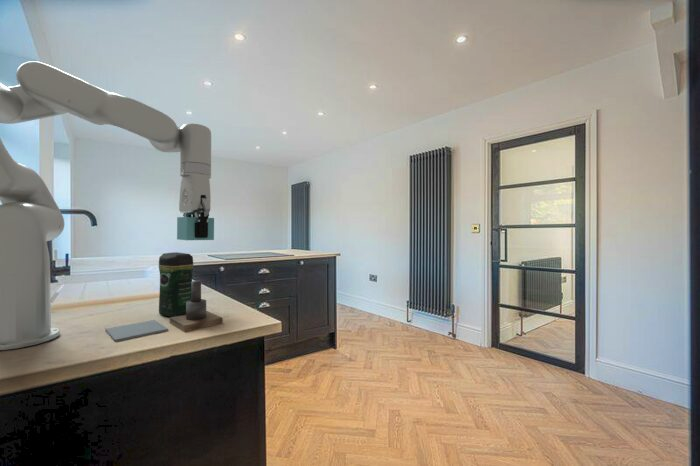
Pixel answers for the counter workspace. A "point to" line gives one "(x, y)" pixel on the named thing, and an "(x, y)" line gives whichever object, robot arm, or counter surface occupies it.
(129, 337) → the mat
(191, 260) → the coffee jar
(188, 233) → the teal boxy piece
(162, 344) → the counter surface
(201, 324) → the peg stand
